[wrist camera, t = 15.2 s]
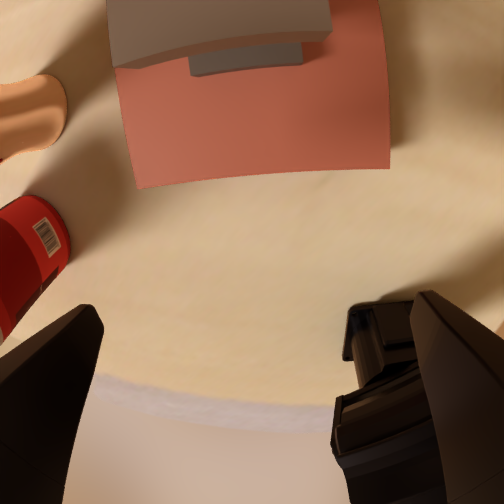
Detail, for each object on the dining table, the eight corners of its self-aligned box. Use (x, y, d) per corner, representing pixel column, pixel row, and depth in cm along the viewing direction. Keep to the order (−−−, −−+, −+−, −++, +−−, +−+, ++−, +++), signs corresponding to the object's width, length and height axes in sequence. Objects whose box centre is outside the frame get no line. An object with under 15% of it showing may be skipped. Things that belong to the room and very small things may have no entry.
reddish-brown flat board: (373, 156, 17) (389, 168, 14) (156, 174, 19) (137, 189, 16) (338, -84, 8) (346, -105, 5) (128, -55, 10) (108, -69, 7)
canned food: (17, 177, 19) (-75, 238, 10) (81, 220, 21) (-9, 307, 11) (11, 242, 23) (-57, 308, 13) (67, 283, 24) (4, 366, 15)
